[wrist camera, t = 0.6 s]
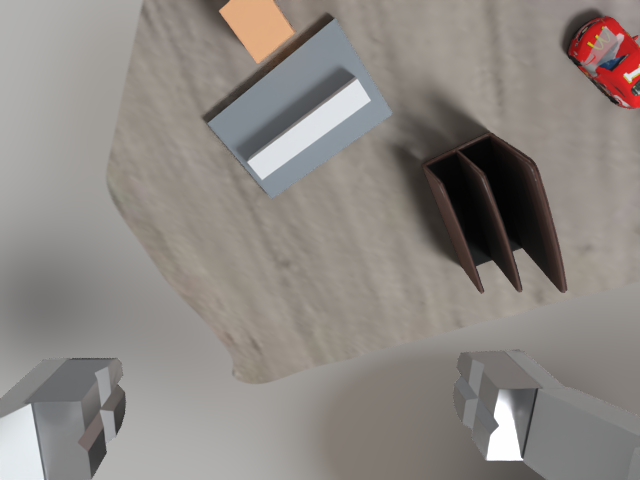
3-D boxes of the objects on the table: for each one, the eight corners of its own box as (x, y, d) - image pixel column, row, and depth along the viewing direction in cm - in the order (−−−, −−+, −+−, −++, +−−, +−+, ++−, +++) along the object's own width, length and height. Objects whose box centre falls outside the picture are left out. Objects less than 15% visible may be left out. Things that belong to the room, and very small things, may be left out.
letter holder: (489, 130, 51) (546, 162, 39) (522, 242, 60) (577, 298, 48) (419, 163, 53) (452, 204, 41) (461, 267, 62) (498, 327, 50)
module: (263, -18, 42) (256, -24, 37) (296, 32, 45) (294, 32, 39) (229, 12, 44) (218, 11, 38) (263, 59, 46) (257, 63, 41)
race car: (556, 48, 46) (576, 49, 43) (595, 6, 44) (619, 4, 41) (617, 114, 50) (639, 120, 47) (655, 79, 48) (682, 83, 45)
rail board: (334, 18, 44) (336, 17, 41) (391, 112, 49) (396, 117, 46) (209, 121, 50) (202, 127, 47) (272, 196, 55) (270, 205, 52)
